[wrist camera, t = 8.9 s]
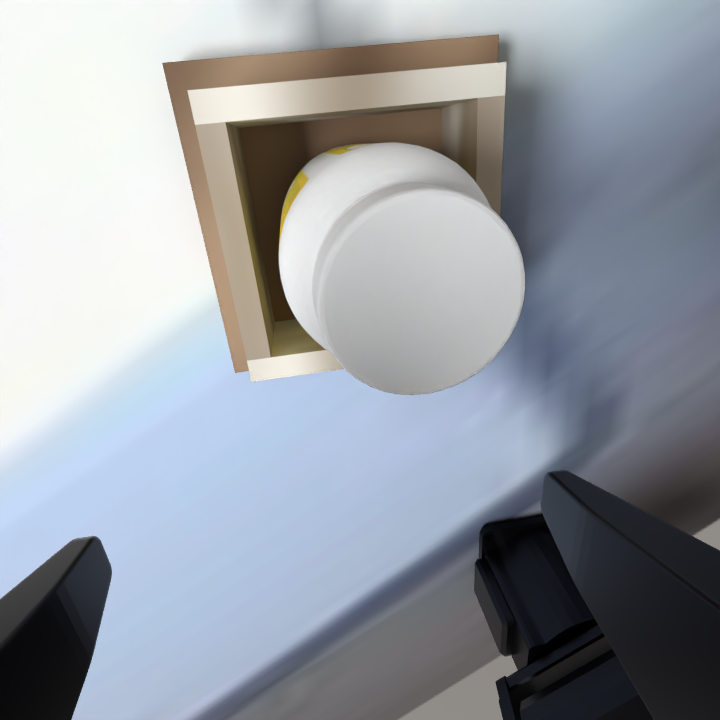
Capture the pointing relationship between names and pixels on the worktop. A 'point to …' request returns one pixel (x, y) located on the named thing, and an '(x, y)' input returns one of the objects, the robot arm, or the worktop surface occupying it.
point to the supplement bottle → (399, 266)
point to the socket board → (304, 142)
